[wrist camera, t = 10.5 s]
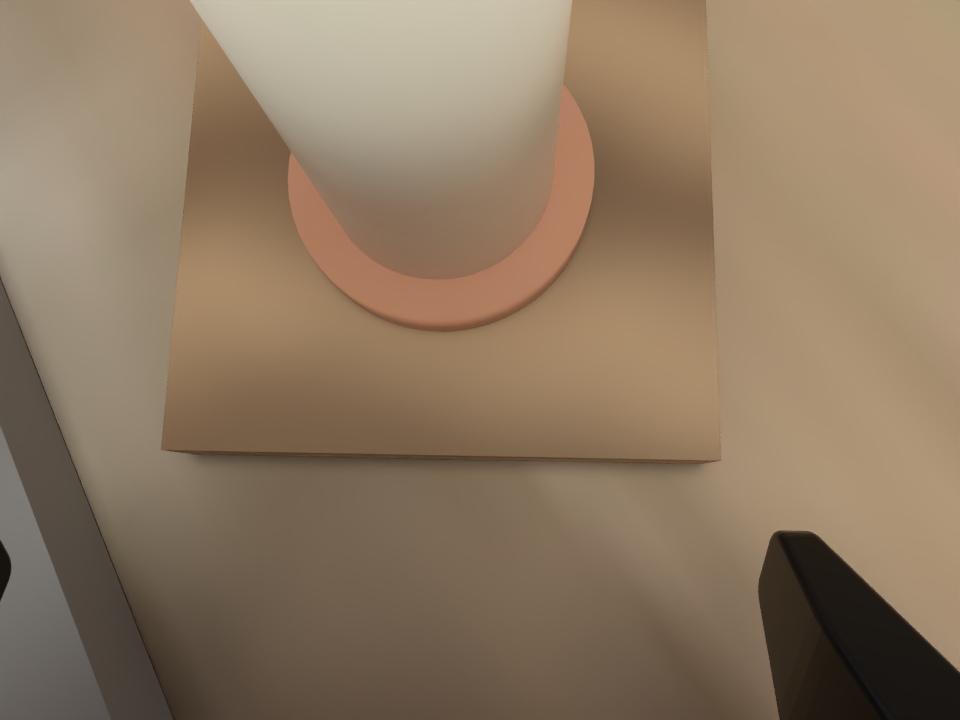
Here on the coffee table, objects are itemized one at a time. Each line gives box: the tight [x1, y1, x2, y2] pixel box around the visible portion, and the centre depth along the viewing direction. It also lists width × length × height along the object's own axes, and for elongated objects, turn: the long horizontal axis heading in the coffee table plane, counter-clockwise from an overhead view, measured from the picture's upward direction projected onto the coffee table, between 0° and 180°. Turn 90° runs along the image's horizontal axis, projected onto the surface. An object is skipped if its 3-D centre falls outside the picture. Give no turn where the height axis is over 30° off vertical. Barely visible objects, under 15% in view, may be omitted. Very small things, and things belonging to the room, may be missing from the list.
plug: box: [190, 0, 595, 332], centre depth 10 cm, size 6×6×12 cm
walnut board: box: [161, 0, 721, 464], centre depth 17 cm, size 11×11×2 cm
